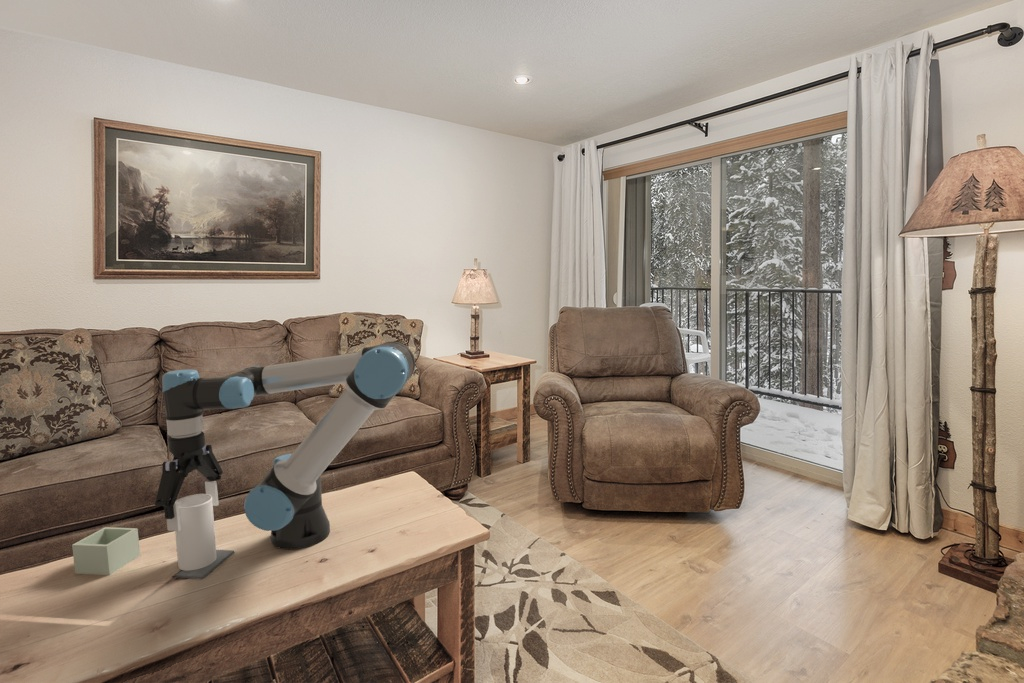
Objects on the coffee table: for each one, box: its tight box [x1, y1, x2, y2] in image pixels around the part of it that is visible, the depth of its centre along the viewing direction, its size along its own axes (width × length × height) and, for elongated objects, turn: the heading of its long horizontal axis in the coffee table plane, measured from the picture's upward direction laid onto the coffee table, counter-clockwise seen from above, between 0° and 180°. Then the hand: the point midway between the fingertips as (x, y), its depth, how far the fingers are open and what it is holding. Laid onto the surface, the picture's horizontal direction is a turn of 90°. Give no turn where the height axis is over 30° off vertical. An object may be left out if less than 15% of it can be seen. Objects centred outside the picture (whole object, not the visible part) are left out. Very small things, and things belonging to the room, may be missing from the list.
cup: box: [174, 493, 217, 571], centre depth 128 cm, size 8×8×16 cm
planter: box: [71, 526, 141, 576], centre depth 128 cm, size 9×9×8 cm
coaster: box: [171, 549, 235, 580], centre depth 129 cm, size 12×12×1 cm
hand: (194, 517), depth 128 cm, fingers open, 13 cm apart
